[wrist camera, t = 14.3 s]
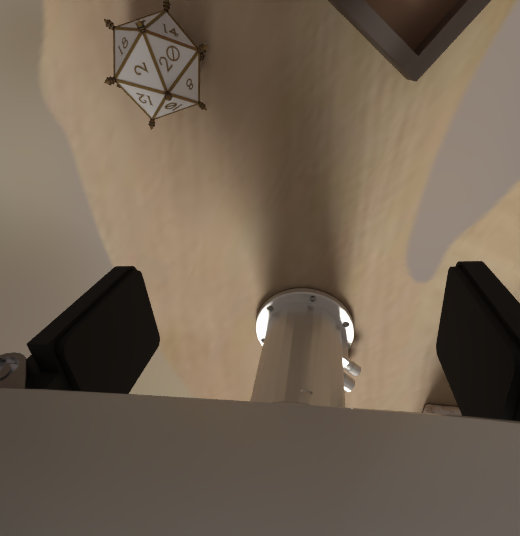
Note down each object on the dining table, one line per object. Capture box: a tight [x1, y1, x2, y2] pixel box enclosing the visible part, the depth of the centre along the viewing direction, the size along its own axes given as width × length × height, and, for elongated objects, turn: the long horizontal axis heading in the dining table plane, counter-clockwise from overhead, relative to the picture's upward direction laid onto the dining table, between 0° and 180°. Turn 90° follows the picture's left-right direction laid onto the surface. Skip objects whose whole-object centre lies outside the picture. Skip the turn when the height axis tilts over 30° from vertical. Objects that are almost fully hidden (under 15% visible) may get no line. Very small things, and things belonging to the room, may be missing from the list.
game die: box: [104, 0, 208, 130], centre depth 29 cm, size 9×8×10 cm
